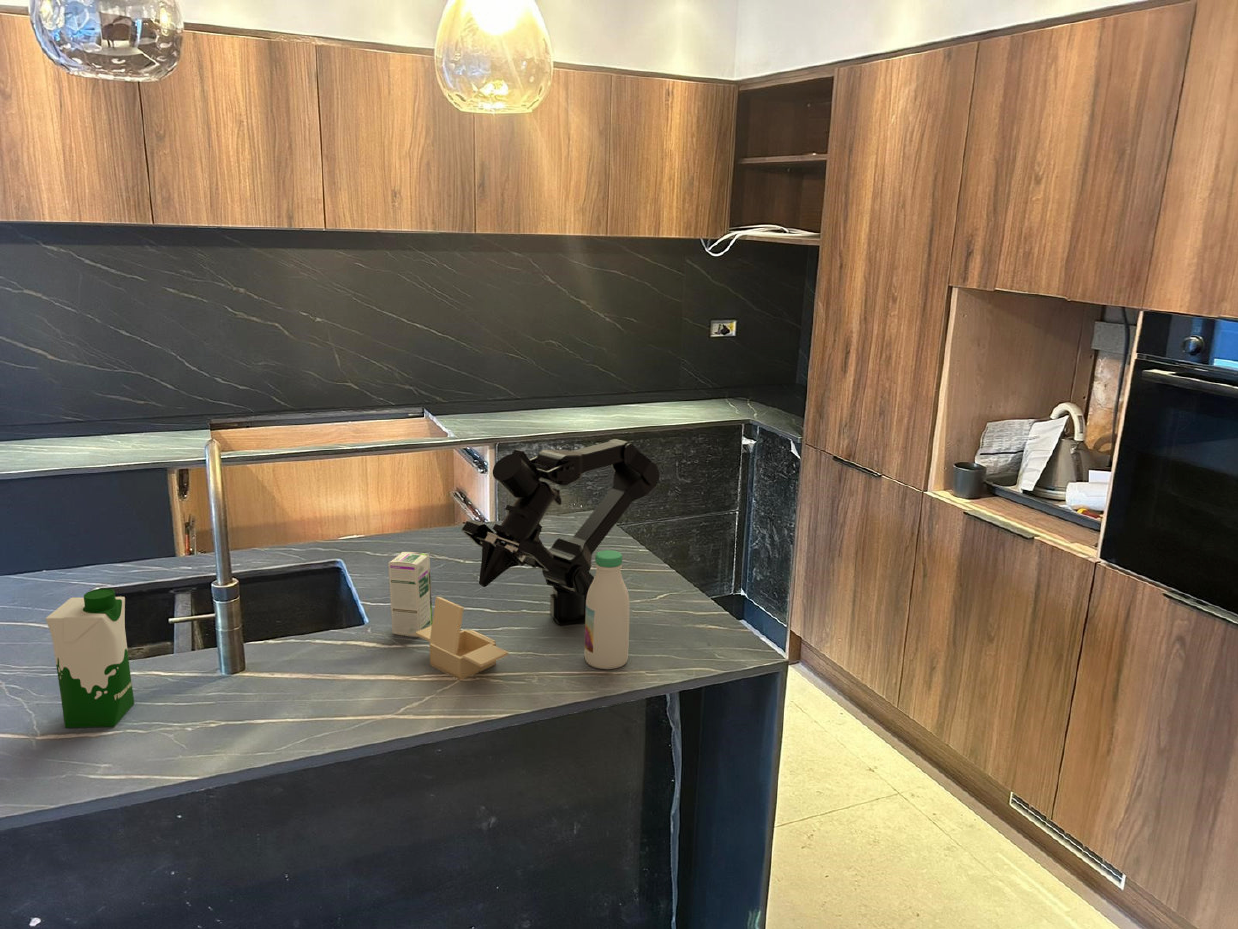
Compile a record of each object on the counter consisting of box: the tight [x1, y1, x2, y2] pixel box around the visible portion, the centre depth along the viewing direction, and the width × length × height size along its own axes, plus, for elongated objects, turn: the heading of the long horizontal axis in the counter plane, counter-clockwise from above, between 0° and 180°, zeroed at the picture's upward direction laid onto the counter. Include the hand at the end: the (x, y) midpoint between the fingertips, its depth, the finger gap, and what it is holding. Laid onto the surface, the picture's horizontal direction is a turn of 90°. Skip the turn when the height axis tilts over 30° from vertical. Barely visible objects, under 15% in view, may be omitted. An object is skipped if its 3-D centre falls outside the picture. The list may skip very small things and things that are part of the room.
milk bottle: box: [584, 549, 630, 670], centre depth 158 cm, size 8×8×20 cm
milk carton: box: [45, 588, 135, 729], centre depth 136 cm, size 9×9×20 cm
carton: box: [415, 625, 509, 681], centre depth 157 cm, size 9×17×4 cm, turn 50°
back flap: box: [428, 596, 465, 654], centre depth 152 cm, size 1×6×8 cm, turn 50°
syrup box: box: [387, 551, 433, 638], centre depth 168 cm, size 6×6×14 cm
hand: (481, 585), depth 157 cm, fingers closed
